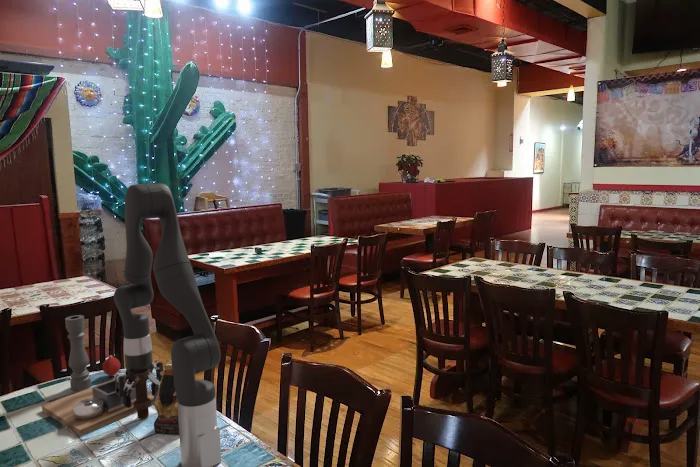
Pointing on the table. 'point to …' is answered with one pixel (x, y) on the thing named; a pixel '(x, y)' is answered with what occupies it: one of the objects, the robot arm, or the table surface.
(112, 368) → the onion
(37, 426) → the table surface
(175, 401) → the statue
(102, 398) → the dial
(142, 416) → the bolt
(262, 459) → the table surface
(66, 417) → the wooden cutting board
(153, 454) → the table surface
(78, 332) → the candle holder
